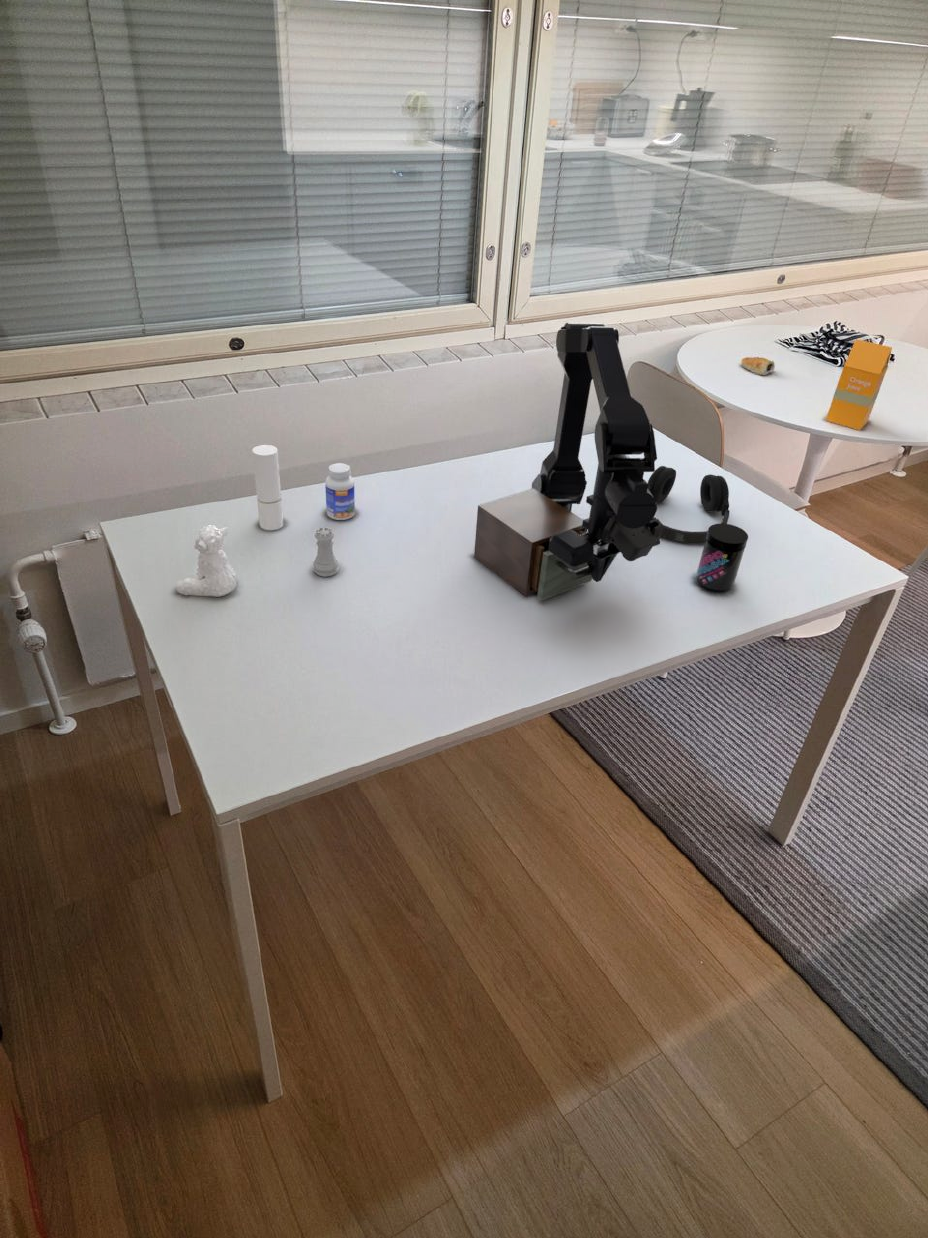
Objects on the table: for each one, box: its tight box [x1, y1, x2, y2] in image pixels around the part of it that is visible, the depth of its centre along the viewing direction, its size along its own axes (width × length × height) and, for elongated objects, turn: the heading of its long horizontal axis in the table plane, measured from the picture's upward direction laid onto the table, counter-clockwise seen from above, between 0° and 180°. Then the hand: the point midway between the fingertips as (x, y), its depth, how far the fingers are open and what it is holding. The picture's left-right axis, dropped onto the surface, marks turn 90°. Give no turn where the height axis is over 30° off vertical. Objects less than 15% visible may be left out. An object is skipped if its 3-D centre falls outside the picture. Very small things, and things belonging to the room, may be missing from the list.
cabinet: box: [473, 487, 588, 597], centre depth 145 cm, size 15×13×11 cm
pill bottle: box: [324, 462, 356, 521], centre depth 157 cm, size 5×5×10 cm
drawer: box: [530, 530, 593, 602], centre depth 141 cm, size 18×11×9 cm, turn 36°
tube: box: [251, 444, 284, 531], centre depth 150 cm, size 4×4×15 cm
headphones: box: [647, 465, 730, 545], centre depth 164 cm, size 17×8×20 cm
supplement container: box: [695, 522, 749, 594], centre depth 144 cm, size 7×7×10 cm
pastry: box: [740, 356, 776, 376], centre depth 241 cm, size 9×7×4 cm
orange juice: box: [825, 338, 893, 431], centre depth 208 cm, size 8×9×20 cm
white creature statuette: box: [175, 524, 238, 598], centre depth 134 cm, size 10×9×12 cm
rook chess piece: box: [312, 526, 340, 578], centre depth 141 cm, size 4×4×8 cm
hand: (596, 580), depth 134 cm, fingers closed, pressing on drawer
